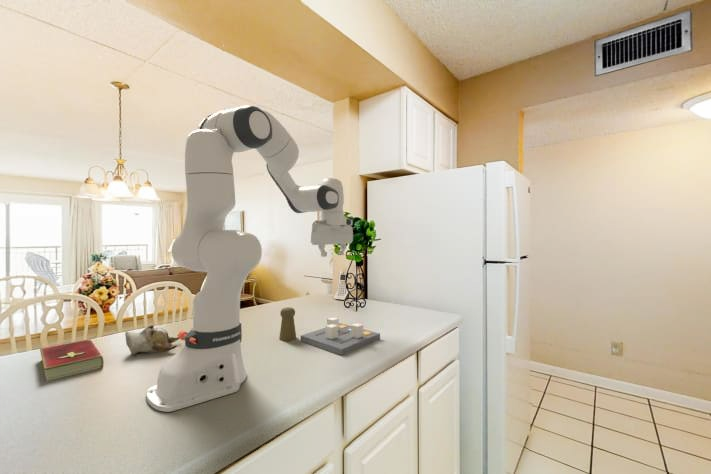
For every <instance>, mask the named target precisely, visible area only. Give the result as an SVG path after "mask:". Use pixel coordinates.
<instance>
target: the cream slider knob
mask: <svg viewBox="0 0 711 474" xmlns="http://www.w3.org/2000/svg"><path fill="white" fill-rule="evenodd" d="M350 326H351V337H354V338H360V337H363V329H364V324H361V323H357V322H356V323H353V324H350Z"/></svg>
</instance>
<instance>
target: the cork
mask: <svg viewBox="0 0 711 474" xmlns="http://www.w3.org/2000/svg"><path fill="white" fill-rule="evenodd" d="M279 314H280V317H281V323H280V331H279V340H280V341H283V342H291V341H294V340H296V339H297V333H296V326H295V318H294V317H295V315H296V310H295V308H294V307H284V308H281V310H280V313H279Z"/></svg>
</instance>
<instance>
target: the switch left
mask: <svg viewBox="0 0 711 474" xmlns="http://www.w3.org/2000/svg"><path fill="white" fill-rule="evenodd" d="M330 324H333V325H337V326H338V324H339V318H338V317H329V318H327V319H326V326H327V325H330Z"/></svg>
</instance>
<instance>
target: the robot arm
mask: <svg viewBox="0 0 711 474" xmlns="http://www.w3.org/2000/svg"><path fill="white" fill-rule="evenodd" d="M252 149H255V150H256V152H258V153H259V155H260V156H261V157H262V158H263V159H264V161H265V162H266V170H267V172H268V174H269V176H270V177H271V179H272V180H273V181H274V183H275V185H276V186H277V187H278V189H279V190H280V193H282V195H283V197H285V200H286V201H287V204H288V206H289V208H290V209H291V210H292V211H293V212H294V213H295V214H302V213H303V214H305V213H310V212H311V213H313V212H321V214H320V215H321V216H320V217H321V219H320V220H318V219H317V220H314V222H313V223H312V224H311V235H310V243H311V244H312V246H318V249H319V251H320V257H323V258H324V257H325V258H326V257H327V256H328V252H327V251H326V249H325V248H326V245H339V247H340V248H339V250H337V252H338V253H337V255H338V256H344V255H345V254H344V253H345V251H346V247H347V245H348V244H352V242H353V241H354V232H353V231H354V230H353V227H352V226H353V224H354V223H353V222H354V221H353V220H352V219H350V218H348V217H346V216H345V215H344V214H345V213H344V212H345V211H344V199H345V198H344V197H345V196H344V195H345V194H344V187H343V186H344V185H343V184H342V181H341V180H339V179H337V178H331V177H330V178H329V177H327V178H323V180H322V182H321V183H318V184H315V185H307V186H303V185H302V186H301V185H298V184H297V183H296V182H295V180H294V179H293V177H292V176H291V174H290V172H289V171H291V169H292V168H294V166H295V164H296V163H297V161H298V159H299V156H300V155H299V154H300V153H299V147H298V144H297V142H296V140H294V138H293V136H291V134H290V133H289V131H287V129H286V128H285V127H284V126H283V124H282V123H281V122H280V121H279V120H278V119H277V118H276V117H275V116H274V115H272V113H270V112H268V111H267V110H265V109H264V110H263V109H261V108H260V107H258V106H255V105H254V106H253V105H241V106H239V107H235V108H231V109H230V108H226V109H224V110H220V111H218V112H216V113H214V114H210V115H208V116H207V117H204V118H203V120H201V122H200V123H199V126H198V128H197V130H194V131H192V132H191V133H189V135H188V136H187V138H186V141H185V151H184V173H185V186H186V201H187V203H186V204H187V206H186V207H187V208H186V214H185V218H184V219H185V220H184V223H183V227H182V230H181V232H180V233H179V235H178V236H177V237H176V238H175V240H174V241H173V243H172V246H171V256H172V259H173V260H174V262H175V264H177V265H178V266H179V267H182V268H184V269H186V270H189V271H193V272H202V273H203V272H204V273H206V279H205V283H204V285H203V287H202V289H201V290H200V291H198V292H196V294H195V295H194V297H193V298H192V299H193V300H192V328H191V329H190V330H189V332H186V331H185V330H181V331H179V332H178V333H177V337H178V338H179V339H178V340H180V341H184V346H183V347H181V348H180V349H179V351H177V352H176V353H175V354H174V355H172V357H171V358H169V360H167V361H166V362H165V363H164V364H163V365H162V366H161V367H160V369H159V373H158V376H157V382H156V384H155V385H153V386H152V385H151V386H150V387H149V388H148V389H147V390H146V392H145V400H146V402H147V403H148V404H149V406H151V408H153V409H154V410H157V411H160V412H163V413H164V412H165V413H166V412H167V413H169V412H174V411H177V410H181V409H185V408H188V407H191V406H194V405H198V404H201V403H204V402H207V401H211V400H215V399H216V398H221V397H224V396H227V395H231V394H234V393H236V392H238V391H239V390H240V387H241V385H242V384H243V382H245V380H246V379H247V375H248V374H247V372H246V369H245V365H244V360H243V354H242V345H241V344H242V338H243V336H242V335H243V334H242V333H243V331H242V323H241V320H240V319H241V318H240V316H241V314H240V313H241V309H240V308H241V295H242V290H243V287H244V285H245V282H246V279H247V277H248V276H249V274H250V273H251V272H252V271H253V270H255V269H256V268H257V267H258V265H259V264H260V261H261V259H262V256H263V255H262V254H263V253H262V252H263V249H262V244H261V242H260V240H259V239H258V237H257V236H256V235H254V234H253V233H250V232H246V231H242V230H238V229H224V225H225V221H226V218H227V216H228V215H229V213H231V211H233V209H234V208H235V207H236V193H235V192H236V191H235V190H236V189H235V179H234V178H235V177H234V168H233V160H232V159H233V156H234V153H243V152H246V151H249V150H252Z"/></svg>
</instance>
